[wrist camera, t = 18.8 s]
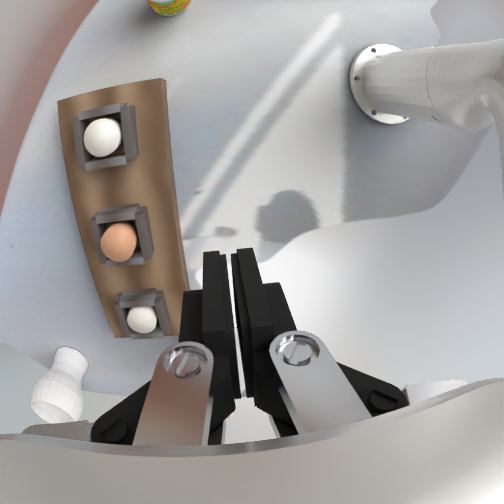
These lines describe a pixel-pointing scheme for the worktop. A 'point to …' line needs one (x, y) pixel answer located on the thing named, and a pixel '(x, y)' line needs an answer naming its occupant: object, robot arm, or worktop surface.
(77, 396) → the cup
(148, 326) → the off-white plunger
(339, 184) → the worktop surface
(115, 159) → the button board
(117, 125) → the off-white plunger
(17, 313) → the worktop surface
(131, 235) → the terracotta plunger
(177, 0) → the supplement bottle
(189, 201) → the worktop surface
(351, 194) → the worktop surface
